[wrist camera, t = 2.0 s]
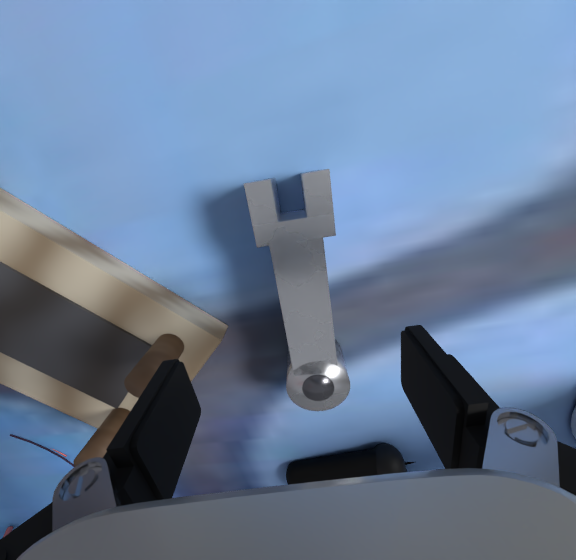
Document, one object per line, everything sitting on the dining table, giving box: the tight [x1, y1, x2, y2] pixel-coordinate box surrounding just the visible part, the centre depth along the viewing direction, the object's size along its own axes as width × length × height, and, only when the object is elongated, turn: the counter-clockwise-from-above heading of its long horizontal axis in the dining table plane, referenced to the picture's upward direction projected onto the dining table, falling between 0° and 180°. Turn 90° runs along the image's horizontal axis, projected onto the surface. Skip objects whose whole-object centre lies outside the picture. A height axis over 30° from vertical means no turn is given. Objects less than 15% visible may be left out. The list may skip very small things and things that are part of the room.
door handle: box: [286, 443, 415, 485], centre depth 29 cm, size 3×20×16 cm
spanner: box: [244, 169, 350, 411], centre depth 18 cm, size 16×4×4 cm, turn 9°
